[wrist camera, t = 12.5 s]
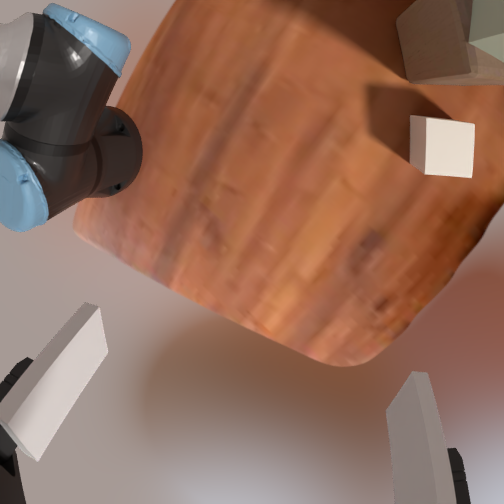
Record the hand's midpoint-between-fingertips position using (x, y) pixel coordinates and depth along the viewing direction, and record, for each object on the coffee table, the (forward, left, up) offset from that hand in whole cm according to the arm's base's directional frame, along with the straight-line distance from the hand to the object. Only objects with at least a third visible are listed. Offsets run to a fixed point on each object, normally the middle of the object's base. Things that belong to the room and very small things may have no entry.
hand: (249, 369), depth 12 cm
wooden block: (+15, +23, -37) cm, 46 cm away
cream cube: (+18, +10, -37) cm, 42 cm away
